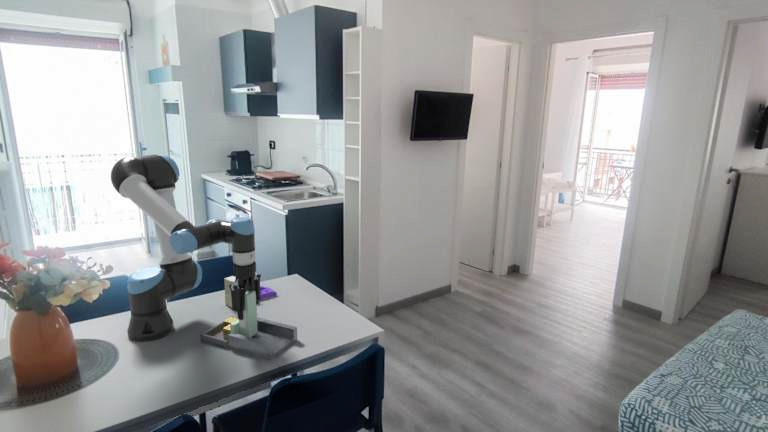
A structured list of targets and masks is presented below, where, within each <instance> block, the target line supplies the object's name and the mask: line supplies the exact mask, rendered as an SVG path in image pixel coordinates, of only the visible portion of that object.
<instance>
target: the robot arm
mask: <svg viewBox="0 0 768 432" xmlns="http://www.w3.org/2000/svg"><path fill="white" fill-rule="evenodd" d="M179 177H180V169H179V167H178V165H177V163H176V161H174V159H173V158H172V157H171V156H169V155H167V154H150V155H139V156H136V155H135V156H126V157H123V158H121V159H119V160H118V161H117V162H115V163H114V165H113V167H112V169H111V171H110V180H111V184H112V186H113V188H114V189H115V191H116V192H117V193H118V194H120V195H121V197H123V198H126V199H129V200H130V201H131V202H133V203H134V204H135V205H136V206H137V207H138V208H139V209H140V210H141V211H142V212H143V213H144V214H145V215H146V216H148V217H149V218H150V220H152V221H153V223H154V228H155V232H156V237H157V241H158V244H159V249H160V253H161V260H160V261H159V266H151V267H150V266H149V267H144V268H141V269H138V270H136V271H134V272H132V273H131V274H130V275H129V276H128V278H127V281H126V282H127V288H126V289H127V292H128V300H129V310H130V319H129V322H128V323H129V324H128V327H127V337H128V339H130V340H131V341H135V342H149V341H155V340H158V339H161V338H163V337H166V336H168V335H169V334H171V333H172V332H173V331H174V328H175V325H174V320H173V318H172V315H170V312H169V310H168V308H167V306H168V305H167V300H170V299H171V298H174V297H177V296H179V295H182V294H184V293H188V292H191V290H194V289H195V288H197V287H198V286H199V285H200V283H201V282H202V279H203V269H202V267H201V265H200V264H199V262H198V260H195V259H193V256H192V255H191V254H189V253H193V252H194V251H195V252H196V251H199V250H201V249H204V248H208V247H211V246H215V245H218V244H221V243H223V244H228V245H229V244H230V245H231V251H232V252H231V253H232V262H233V264H232V265H233V266H232V268H233V274H234V276H235V277H236V279H235V283H234V284H233V285H232V284H230V285H229V288H230V290H231V298H232V308H231V309H232V311H234V312H237V317H238V319H239V327H243V328H247V323H246V310H244V305H245V295H246V292H247V290H249V291H256V305H259V304H260V302H259V301H261V300H260V286H261V275H262V274H260V273H256V272H257V262H256V241H255V240H256V239H255V232H256V230H255V223H254V220H253V219H252V218H251V217H249V216H239V217H234V218H232V219H231V220H230V221H229V220H228V221H227V220H224V219H217V218H216V219H215V218H212V219H208V221H207V222H204V224H201V225H196V226H195V225H194V224H193V223H191V222H190V221H189V220H188V219H187V218H186V217H184V215H183V214H181V213H180V212H179V211H178V210H177V207H176V202H175V198H174V194H173V192H174V191H175V190H176V189H177V188H176V183H178V181H179V180H180V178H179ZM241 288H242V289H241ZM256 310H258V309H257V306H256Z"/></svg>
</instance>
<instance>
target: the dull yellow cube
mask: <svg viewBox="0 0 768 432" xmlns="http://www.w3.org/2000/svg"><path fill="white" fill-rule="evenodd" d="M235 317H236V316H234V317H232V316H230V317H228V318H226V319H224V320H223V321H222V322H223V323H224V327H226V326H228V325H229V324H231V323H233V322H235V321H236V320H238V318H235Z"/></svg>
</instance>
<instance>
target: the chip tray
mask: <svg viewBox="0 0 768 432" xmlns="http://www.w3.org/2000/svg"><path fill="white" fill-rule="evenodd" d="M231 317H235V318H238V316H233V315H232V316H231ZM223 328H224V323H223V321H222V322H220V323H218V324H217V325H214V326H213V327H211V328H209V329H208V330H206V331H204V332H202V333H200V341H201V342H205V343H208V344H211V345H214V346H219V347H221V348H225V349H229V344H228V340H227V339H224V337H223Z"/></svg>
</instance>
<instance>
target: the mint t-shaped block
mask: <svg viewBox="0 0 768 432" xmlns="http://www.w3.org/2000/svg"><path fill="white" fill-rule="evenodd" d="M256 307H257V304H256V291H249V290H247V292H246V295H245V305H244V310H246V323H247V328H243V327H239V319H238V320H236V321H235V322H233V323H231V324H230V331H231V333H236V334H240V335H243V336H247V337H252V336H253V335H255V334H256V333H258V329H257V317H258V313H257V310H258V309H257V310H256Z"/></svg>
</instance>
